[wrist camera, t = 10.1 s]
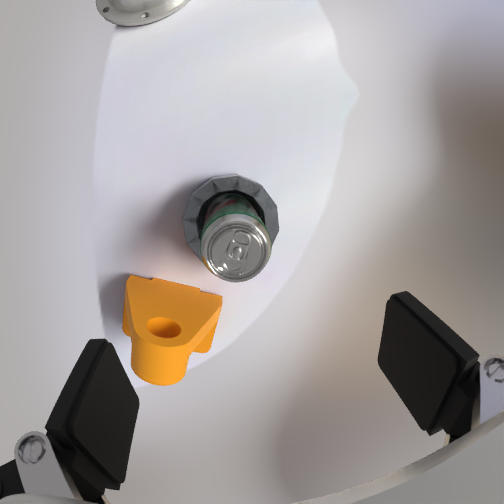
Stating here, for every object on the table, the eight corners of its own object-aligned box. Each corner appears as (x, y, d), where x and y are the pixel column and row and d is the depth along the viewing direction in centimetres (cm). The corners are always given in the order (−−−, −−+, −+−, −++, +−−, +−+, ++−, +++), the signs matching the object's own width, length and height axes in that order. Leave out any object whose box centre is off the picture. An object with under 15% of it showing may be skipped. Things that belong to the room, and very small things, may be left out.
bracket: (127, 322, 33) (99, 387, 22) (132, 271, 31) (96, 328, 20) (208, 341, 35) (208, 412, 24) (221, 292, 33) (224, 359, 22)
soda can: (201, 232, 31) (190, 277, 19) (214, 186, 29) (210, 206, 18) (245, 244, 32) (260, 294, 20) (260, 200, 30) (285, 227, 19)
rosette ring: (181, 181, 29) (176, 184, 25) (267, 169, 29) (273, 171, 26) (195, 262, 32) (192, 274, 28) (275, 250, 32) (281, 261, 29)
